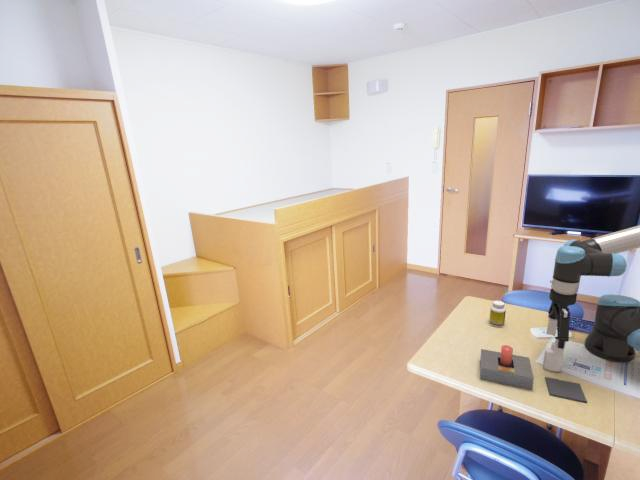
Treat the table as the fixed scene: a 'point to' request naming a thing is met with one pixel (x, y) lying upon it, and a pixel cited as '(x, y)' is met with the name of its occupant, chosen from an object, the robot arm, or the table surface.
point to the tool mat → (565, 389)
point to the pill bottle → (497, 314)
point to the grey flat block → (506, 370)
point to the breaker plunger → (506, 356)
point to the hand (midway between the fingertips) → (554, 344)
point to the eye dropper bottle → (552, 360)
